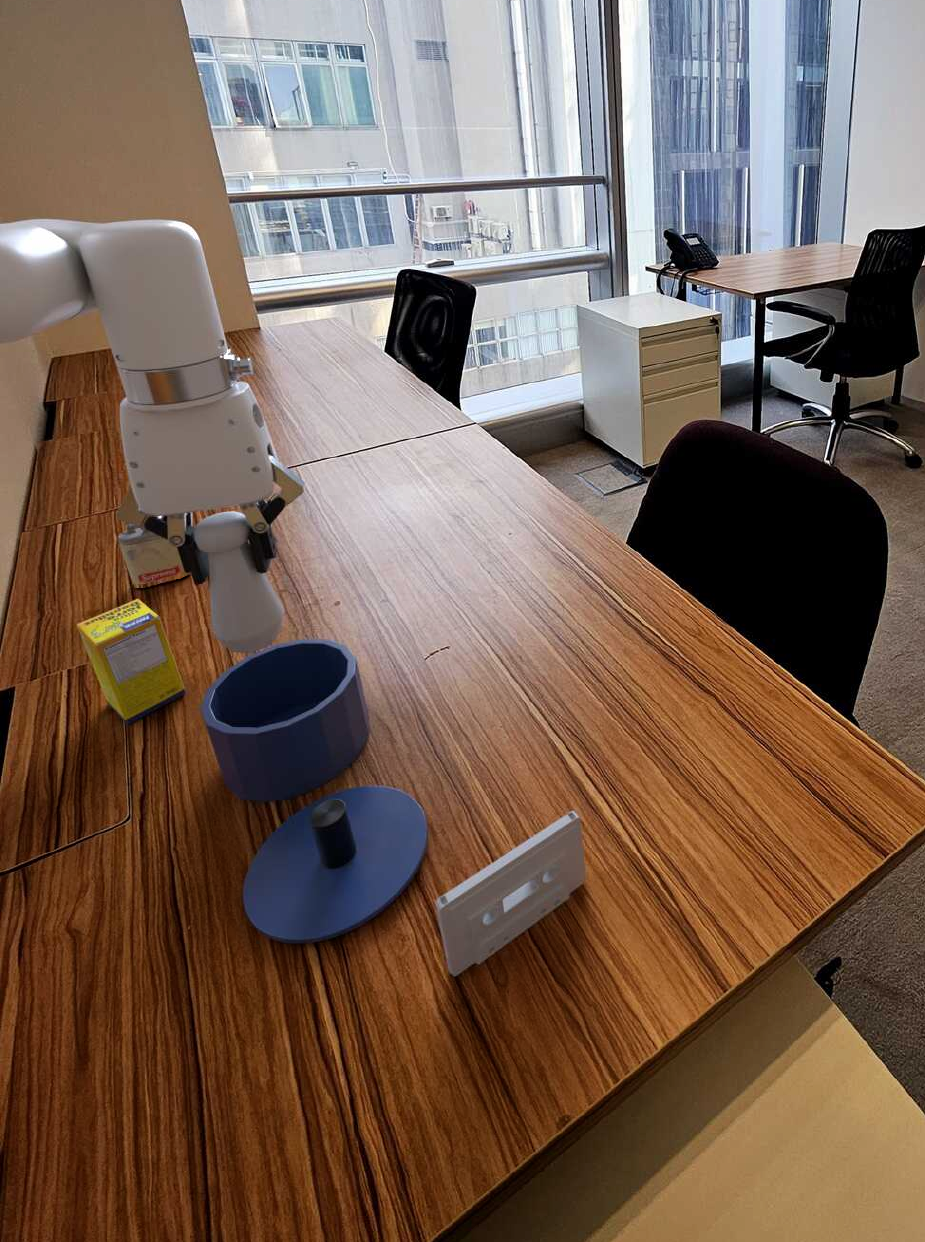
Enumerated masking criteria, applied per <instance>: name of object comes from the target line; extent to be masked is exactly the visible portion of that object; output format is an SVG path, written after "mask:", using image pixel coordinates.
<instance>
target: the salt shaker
mask: <svg viewBox="0 0 925 1242" xmlns="http://www.w3.org/2000/svg"><path fill="white" fill-rule="evenodd" d="M250 526H251V525H250V524H249V522H248V520H247V518H246V517H245V515H244V513H243V512H239V511H223V512H218V513H214V514H212V515H209V516H206V517H205V518H203V519H201V520H200V521H198V522H197V524H196V525H195V526H194V527H195V528H194V530H193V537H194V540H195V542H196V545H197V546H198V548H199V549H200V550H201V551H204V552H208V559H209V574H208V576H209V578H208V579H209V595H210V596H209V597H210V615H211V616H210V617H211V631H212V632H213V635H214V636H215V638H216V639H217V641H219V642H220V643H221V644H222V645H223V646H224V647H225V648H226V649H228V650H229V651H230V652H231V653H238V654H248V655H252V654H254V653H256V652H259V651H261V650H264V649H266V648H268V647H271V646H273V643H274V642H275V641H276V640H277V638H278V636H279V635H280V634H281V631H282V625H283V621H284V617H285V607H284V605H283V603H282V602H281V600H280V598H279V596H278V594H277V592H276V591H275V588H274V587H273V585H272V583H271V581H270V580H269V578H268V576H267V573H262V574H260V572H259V573H258V572H257V569H256V566H255V562H254V558H253V555H252V551H251V547H250V544H249V540H248V536H249V533H250V531H251V529H250Z"/></svg>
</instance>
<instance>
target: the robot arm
mask: <svg viewBox="0 0 925 1242" xmlns="http://www.w3.org/2000/svg"><path fill="white" fill-rule="evenodd" d="M93 312H99V315H100V318H101V322H102V325H103V328H104V331H105V334H106V337H107V340H108V344H109V347H110V350H111V352H112V356H113V359H114V363H115V365H116V370H117V371H118V375H119V378H120V381H121V384H122V388H123V390H124V394H125V396H126V397H124V398H123V399H122V400H121V402H120V404H119V423H120V424H119V425H120V435H121V443H122V450H123V456H124V461H125V466H126V471H127V476H128V479H129V483H130V486H129V488H128V490H127V491H126V494H125V495H124V498H123V499H122V501H121V503H120V505H119V507H118V509H117V511H116V512H115V518H116V519H117V520H118V521H120V522H123V523H125V522H126V523H129V524H133V525H136V526H139V527H141V526H142V527H145V529H146V530H148V531H150V532H152V533H154V534H156V535H158V536H161V537H163V538H165V539H167V540H168V543H169V544H170V545H171V546H174V547H177V549H178V552H179V556H180V559H181V562H182V565H183V568H184V571H185V573H191V574H190V576H191V578H192V581H193V584H194V586H198V585H204V583H206V581H207V578H208V576H209V559H208V552H204V551H201V550H200V549H199V548H198V546H197V545H196V542H195V540H194V537H193V530H194V528H195V527H196V526H193V524H194V523H193V522H194V521H193V520H194V519H193V517H194V516H193V513H198V512H205V511H210V510H217V509H223V508H224V509H225V508H230V507H236V506H237V507H238V506H239V508H240V510H241V512H242V514H244V515H245V517H246V518H247V520H248V522H249V524H250V525H251V526H250V529H251V531H250V533H249V536H248V542H249V544H250V547H251V551H252V555H253V558H254V562H255V566H256V569H257V572H258V573H259V572H260V574H262V573H265V574H267V573H268V572H269V568H270V565H271V561H272V559H276V558H277V545H276V541H275V538H274V533H273V530H272V527H271V525H272V524H273V522H274V521H275V520H276V519H277V518H278V516H280V515H281V513H282V512H283V511H284V509H285V508H286V507H287V506H288V505H291V503H293V502H294V501H295V500H296V499H298V498H299V497H300V496H301V495H303V494H304V491H305V488H306V482H305V481H304V480H303V479H302V478H300V477H299V475H297V474H296V473H294V472H293V471H292V470H290V469H289V468H288V467H287V466H286V465H285V464H283V463H282V462H281V461H279V460H278V455H277V452H276V448H275V446H274V443H273V440H272V436H271V434H270V431H269V428H268V425H267V423H266V420H265V417H264V415H263V411H262V410H261V407H260V405H259V403H258V400H257V398H256V396H255V394H254V392H253V390H252V388H251V386H250V384H249V383H248V382H245V381H238V380H239V378H243V377H244V376H247V375H248V376H249V375H253V374H254V366H253V362H252V359H251V358H249V357H248V358H240V357H236V356H235V355H234V354H233V353H232V349H229V347H228V343H227V340H226V336H225V335H226V334H225V331H224V328H223V323H222V320H221V316H220V312H219V308H218V304H217V299H216V295H215V292H214V287H213V284H212V280H211V276H210V274H209V268H208V265H207V260H206V256H205V253H204V248H203V245H202V242H201V239H200V237H199V235H198V233H197V232H196V231H195V230H194V229H193V227H191V226H190V225H189V224H186V223H184V222H182V221H178V220H168V219H137V220H125V221H114V222H113V221H112V222H107V223H100V222H99V223H97V222H87V221H86V222H85V221H77V220H67V219H56V218H55V219H54V218H34V219H25V220H19V221H14V222H13V221H12V222H7V223H0V345H1V344H8V343H9V344H10V343H14V342H17V341H20V340H23V339H25V338H26V339H27V338H28V337H31V336H33V335H36V334H38V333H40V332H42V331H45V330H47V329H49V328H52V327H54V326H57V325H59V324H63V323H65V322H68V321H71V320H74V319H76V318H79V317H82V316H85V315H87V314H90V313H91V314H92V313H93ZM274 483H275V484H276V485H278V486H279V487H280V490H279V491H278V492H276V493H274ZM268 498H269V499H268ZM267 499H268V500H267Z"/></svg>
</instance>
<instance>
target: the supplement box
mask: <svg viewBox="0 0 925 1242" xmlns="http://www.w3.org/2000/svg"><path fill="white" fill-rule="evenodd" d="M76 627H77V630H78V633H79V635H80V638H81V641H82V643H83V645H84V648H85V651H86V653H87V656H88V658H89V660H90V663H91V666H92V668H93V670H94V674H95V675H96V678H97V680H98V683H99V685H100V687H101V690H102V692H103V695H104V697H105V701H106V702H107V705H108V706H110V708H111V709H113V711H114V712H115V713H116V714H117V715H118V716H119V717H120V718H121V720H122V721H123V722H125V724H126V725H128V726H129V725H131V724H133V723H135V722H136V721H138V720H140V719H141V718H144V717H146V716H147V715H149V714H151V713H153V712H155V711H157V710H158V709H160V708H163V707H164V706H166V705H168V704H170V703H172V702H174V701H176V700H177V699H179V698H181V697H183V696H186V694H187V692H186V688H185V685H184V683H183V680H182V677H181V674H180V672H179V669H178V666H177V662H176V660H175V657H174V655H173V650H172V649H171V646H170V644H169V641H168V637H167V634H166V632H165V629H164V626H163V623H162V620H161V617H160V615H158V614H157V613H156V612H154V611H153V610H152V609H151V608H149V607H148V605H146V604H145V603H143V601H141V600H140V598H136V599H134V600H132V601H129V602H127V603H125V604H122V605H120V606H118V607H115V608H113V609H111V610H108V611H106V612H103V613H101V614H99V615H95V616H93V617H91V618H89V619H87V620H84V621H81V622H79V623H77V624H76Z"/></svg>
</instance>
